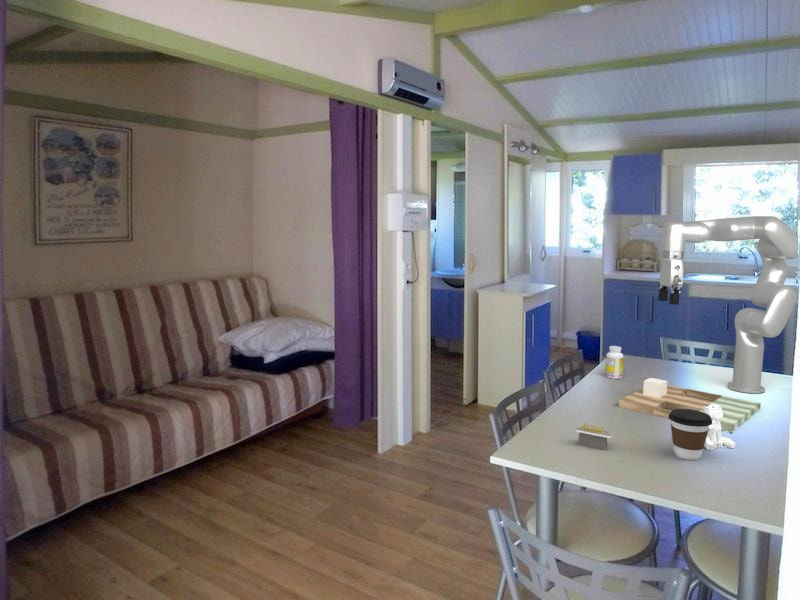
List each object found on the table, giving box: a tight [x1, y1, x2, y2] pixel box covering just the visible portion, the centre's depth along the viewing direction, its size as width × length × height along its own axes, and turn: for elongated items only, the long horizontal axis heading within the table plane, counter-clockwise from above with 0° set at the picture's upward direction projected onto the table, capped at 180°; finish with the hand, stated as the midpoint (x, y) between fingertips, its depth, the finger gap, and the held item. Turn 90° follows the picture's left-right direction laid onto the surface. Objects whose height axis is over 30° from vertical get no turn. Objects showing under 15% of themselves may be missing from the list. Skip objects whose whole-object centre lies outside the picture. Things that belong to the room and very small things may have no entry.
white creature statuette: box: [702, 404, 737, 451], centre depth 176 cm, size 10×9×12 cm
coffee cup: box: [668, 409, 712, 461], centre depth 167 cm, size 11×11×12 cm
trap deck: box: [618, 384, 762, 433], centre depth 210 cm, size 32×36×2 cm
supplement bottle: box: [605, 345, 624, 380], centre depth 250 cm, size 7×7×13 cm
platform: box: [574, 422, 612, 451], centre depth 174 cm, size 12×18×7 cm, turn 57°
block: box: [642, 377, 668, 398], centre depth 218 cm, size 6×6×5 cm
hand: (668, 302), depth 223 cm, fingers open, 9 cm apart
